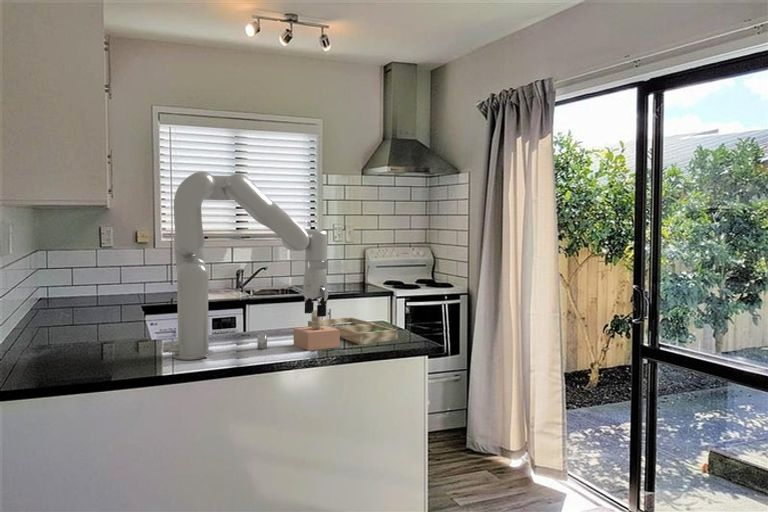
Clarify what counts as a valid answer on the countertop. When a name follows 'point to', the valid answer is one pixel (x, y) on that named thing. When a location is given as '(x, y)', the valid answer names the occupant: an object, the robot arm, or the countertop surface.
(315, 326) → the long pin
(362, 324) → the organiser frame
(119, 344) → the countertop surface
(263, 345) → the short pin
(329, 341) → the hole block
